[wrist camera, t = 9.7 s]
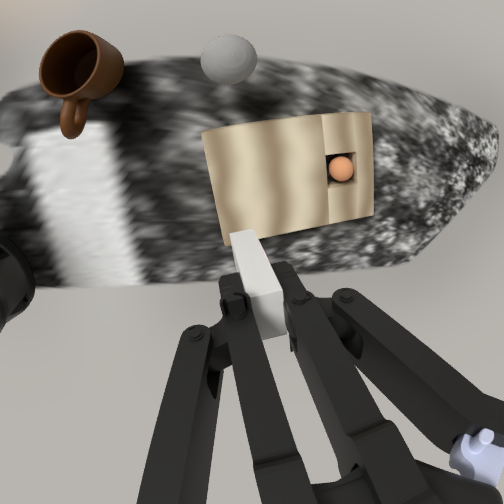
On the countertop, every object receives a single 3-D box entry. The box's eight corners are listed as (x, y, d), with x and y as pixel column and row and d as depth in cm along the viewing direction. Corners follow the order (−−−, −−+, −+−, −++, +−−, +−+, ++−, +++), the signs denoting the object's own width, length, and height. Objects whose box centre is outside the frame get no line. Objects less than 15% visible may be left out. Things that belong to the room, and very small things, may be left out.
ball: (350, 185, 35) (356, 178, 38) (349, 160, 34) (355, 154, 36) (326, 183, 37) (334, 176, 39) (324, 158, 35) (332, 153, 38)
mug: (121, 131, 31) (96, 139, 23) (69, 134, 30) (34, 145, 21) (129, 42, 26) (107, 23, 17) (75, 49, 24) (42, 36, 16)
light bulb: (234, 43, 28) (247, 20, 19) (252, 79, 31) (271, 69, 22) (193, 60, 28) (190, 42, 20) (212, 96, 31) (215, 91, 22)
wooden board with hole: (223, 238, 40) (224, 246, 38) (201, 131, 33) (201, 133, 31) (365, 209, 42) (373, 215, 40) (361, 111, 35) (370, 112, 32)
